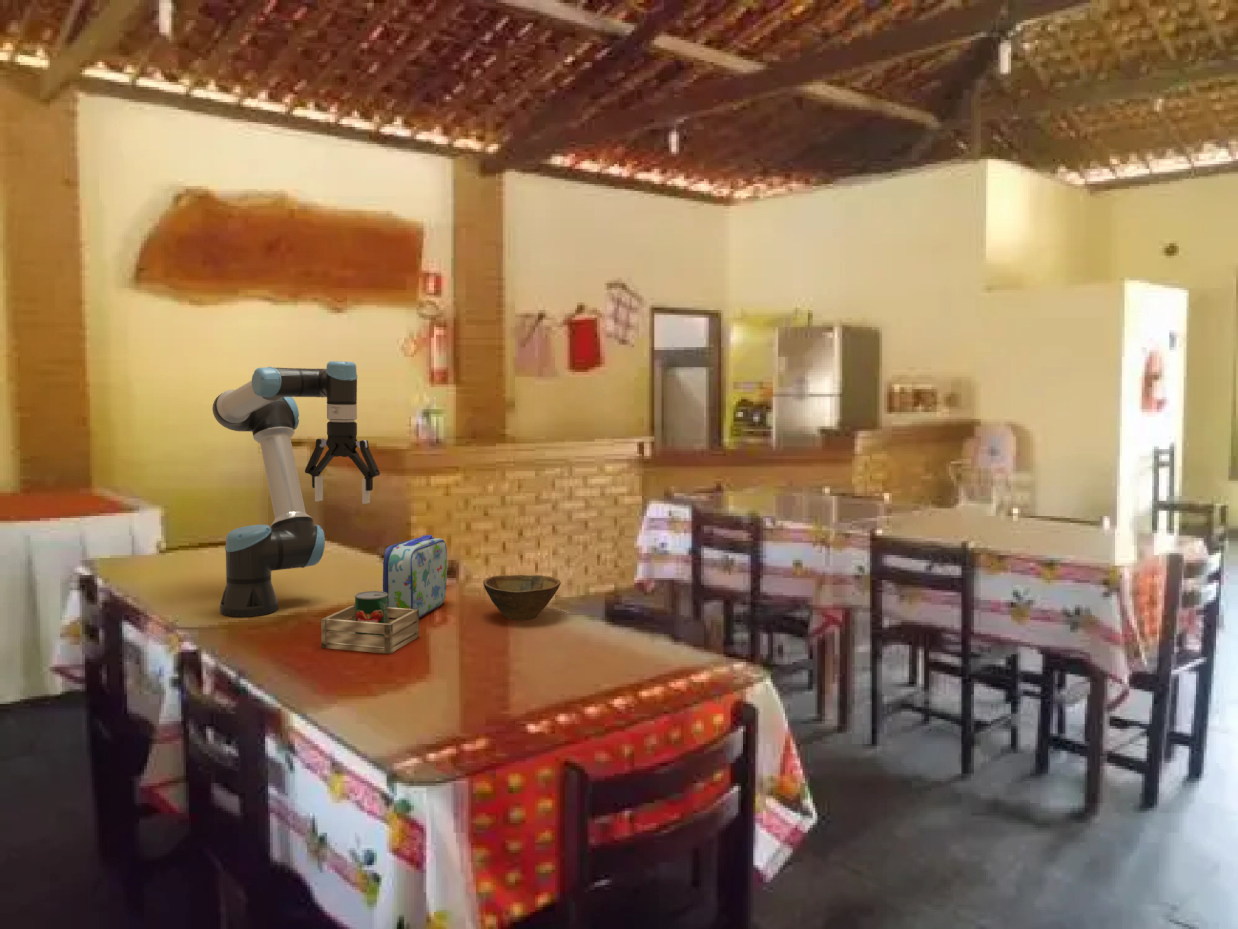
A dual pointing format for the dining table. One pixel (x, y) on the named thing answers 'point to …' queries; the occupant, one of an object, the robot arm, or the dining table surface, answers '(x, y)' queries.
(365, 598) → the canned tomato
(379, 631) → the crate
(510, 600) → the bowl
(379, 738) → the dining table surface
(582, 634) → the dining table surface
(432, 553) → the lunch box
